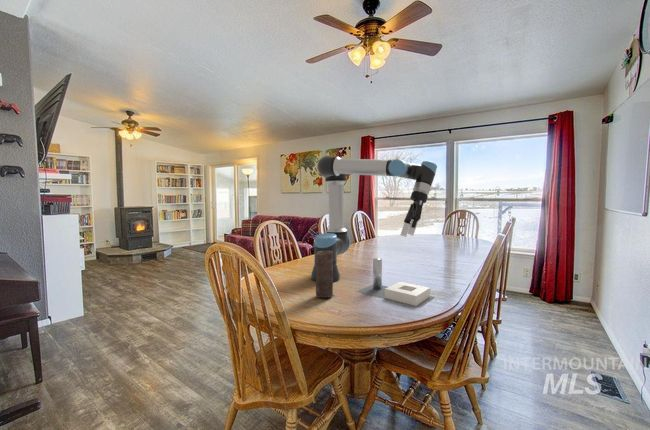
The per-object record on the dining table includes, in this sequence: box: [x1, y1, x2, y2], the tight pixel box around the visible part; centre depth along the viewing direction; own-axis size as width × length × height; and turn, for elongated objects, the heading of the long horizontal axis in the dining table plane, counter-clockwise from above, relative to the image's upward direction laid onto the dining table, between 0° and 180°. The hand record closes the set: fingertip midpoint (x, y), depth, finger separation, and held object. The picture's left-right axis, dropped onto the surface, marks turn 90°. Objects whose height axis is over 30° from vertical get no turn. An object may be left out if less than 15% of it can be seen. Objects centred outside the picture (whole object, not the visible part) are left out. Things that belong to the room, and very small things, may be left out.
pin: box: [372, 257, 383, 290], centre depth 141 cm, size 4×4×14 cm
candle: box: [315, 251, 334, 299], centre depth 130 cm, size 8×7×20 cm
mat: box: [356, 284, 436, 309], centre depth 133 cm, size 30×16×1 cm, turn 50°
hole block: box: [385, 281, 431, 306], centre depth 129 cm, size 14×14×4 cm
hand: (406, 235), depth 142 cm, fingers open, 13 cm apart
